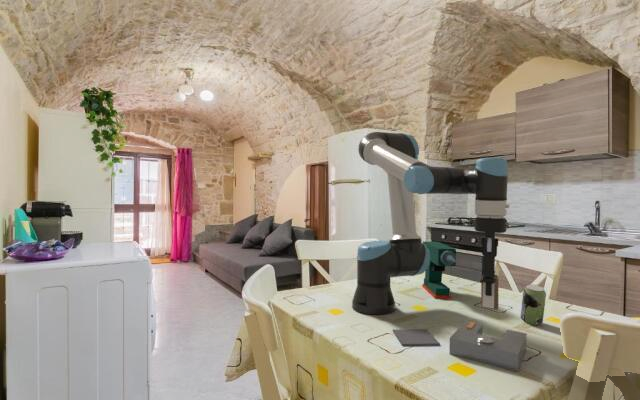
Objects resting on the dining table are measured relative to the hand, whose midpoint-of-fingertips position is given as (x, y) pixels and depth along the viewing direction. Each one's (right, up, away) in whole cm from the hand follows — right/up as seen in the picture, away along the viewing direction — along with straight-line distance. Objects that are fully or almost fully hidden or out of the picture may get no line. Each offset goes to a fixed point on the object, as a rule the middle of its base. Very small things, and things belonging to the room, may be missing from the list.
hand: (488, 304), depth 94 cm
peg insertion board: (-2, -11, -4) cm, 12 cm away
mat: (-18, -11, +4) cm, 22 cm away
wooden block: (0, -1, 0) cm, 1 cm away
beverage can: (+22, -11, +17) cm, 30 cm away
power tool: (+4, -11, +46) cm, 47 cm away
